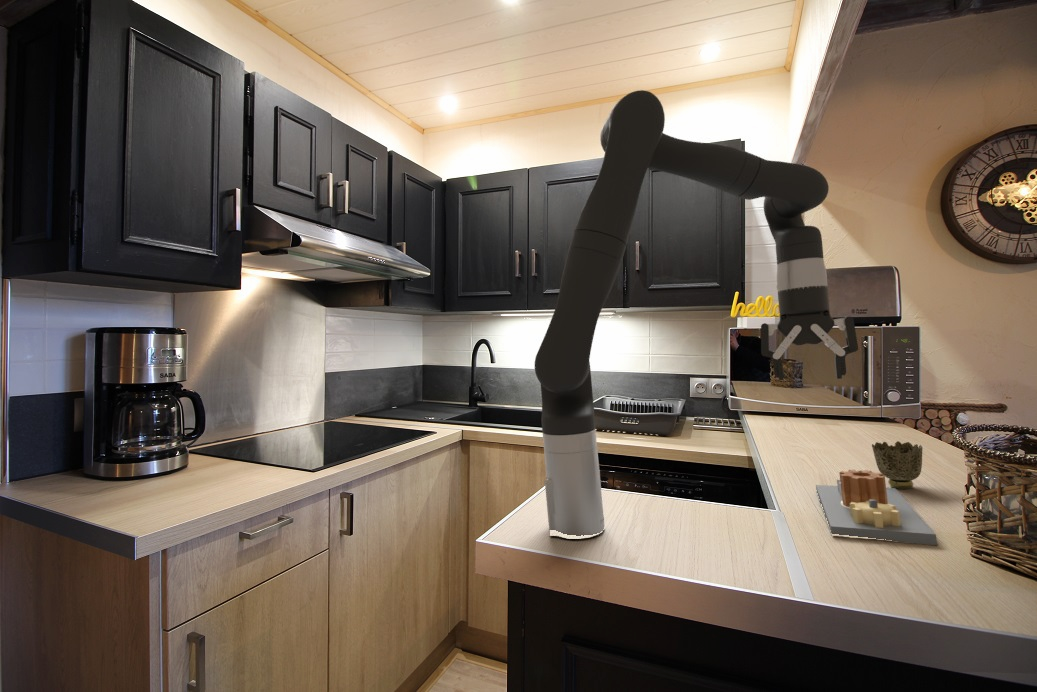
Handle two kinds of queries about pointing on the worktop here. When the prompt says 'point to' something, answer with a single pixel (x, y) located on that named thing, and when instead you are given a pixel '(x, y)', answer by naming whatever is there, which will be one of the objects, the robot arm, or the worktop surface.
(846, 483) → the idler gear
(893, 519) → the gear board
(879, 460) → the cup
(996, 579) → the worktop surface
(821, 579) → the worktop surface
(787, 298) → the robot arm
